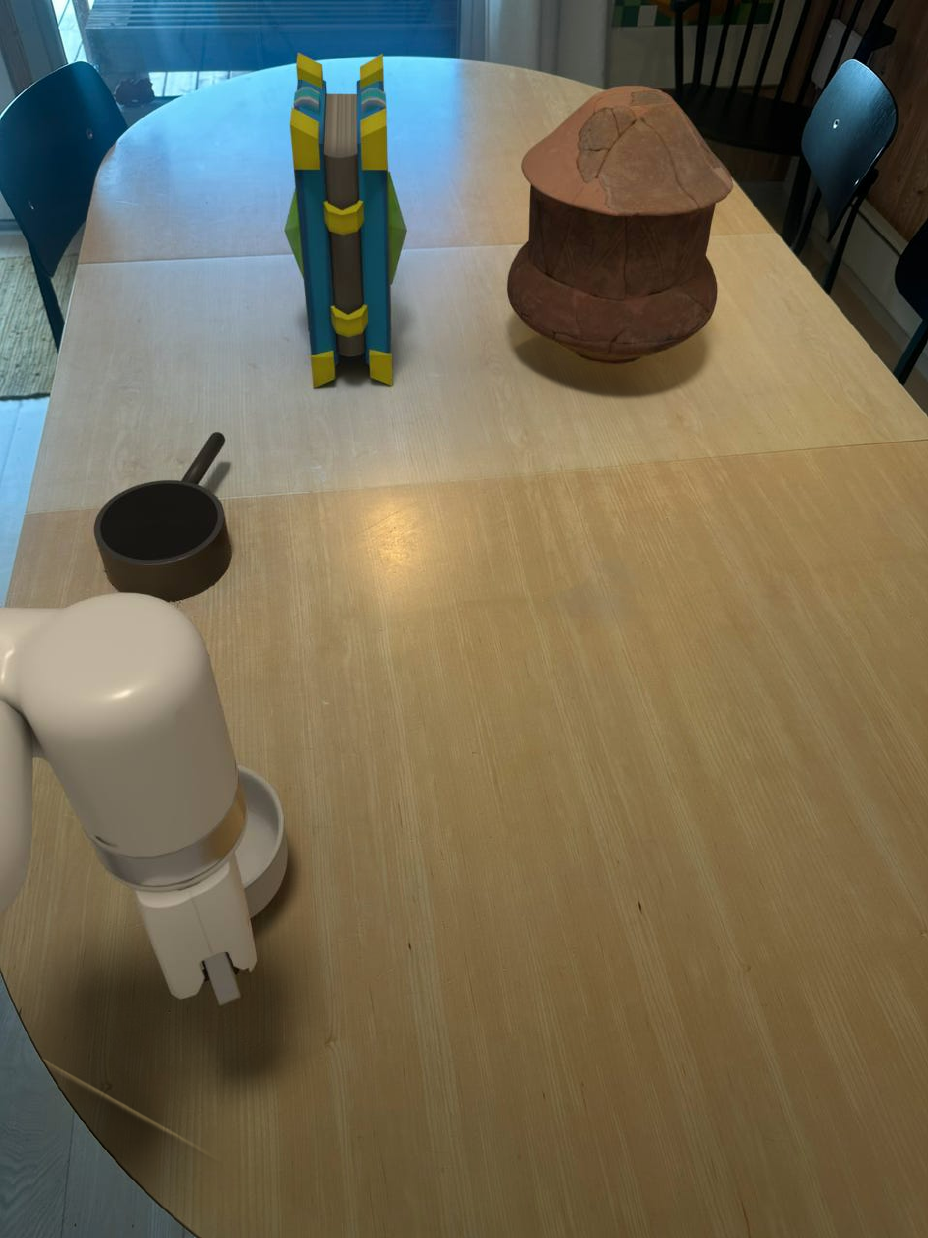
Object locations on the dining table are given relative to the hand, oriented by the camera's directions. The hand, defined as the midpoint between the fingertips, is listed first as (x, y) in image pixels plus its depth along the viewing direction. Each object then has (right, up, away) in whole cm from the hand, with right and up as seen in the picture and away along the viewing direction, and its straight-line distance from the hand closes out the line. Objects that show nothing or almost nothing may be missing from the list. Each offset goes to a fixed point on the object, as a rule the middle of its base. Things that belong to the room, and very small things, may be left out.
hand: (223, 962), depth 61 cm
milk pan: (-13, +31, +37) cm, 50 cm away
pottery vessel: (+33, +56, +63) cm, 91 cm away
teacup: (-4, +2, +12) cm, 13 cm away
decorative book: (+1, +56, +62) cm, 84 cm away
